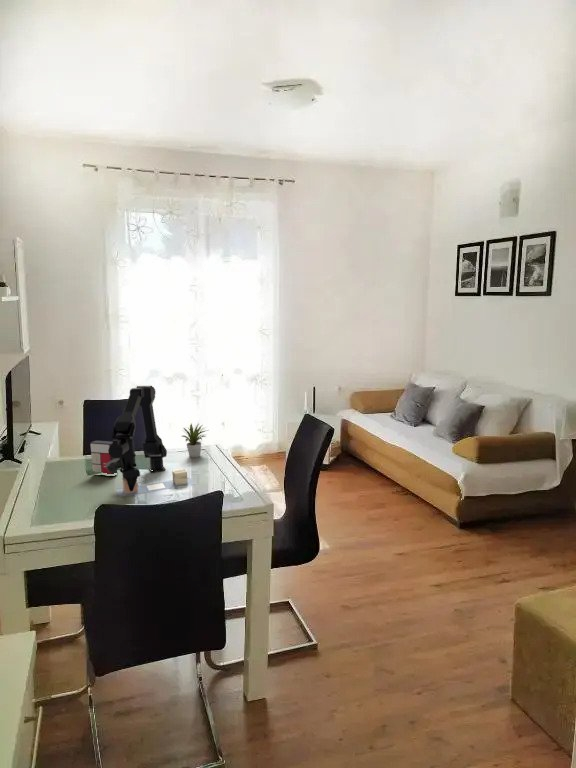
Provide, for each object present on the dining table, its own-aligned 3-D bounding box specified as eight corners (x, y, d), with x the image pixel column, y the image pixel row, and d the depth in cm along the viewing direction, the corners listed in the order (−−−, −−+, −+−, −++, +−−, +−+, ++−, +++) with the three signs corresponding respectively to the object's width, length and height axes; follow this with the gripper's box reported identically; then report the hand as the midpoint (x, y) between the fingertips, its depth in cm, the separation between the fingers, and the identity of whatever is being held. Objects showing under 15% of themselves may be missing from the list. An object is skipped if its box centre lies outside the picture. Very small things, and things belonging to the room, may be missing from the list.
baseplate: (116, 491, 236) (116, 489, 235) (189, 479, 247) (189, 477, 247) (119, 498, 226) (119, 496, 226) (195, 486, 237) (195, 484, 237)
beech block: (173, 482, 241) (172, 470, 241) (185, 480, 243) (184, 468, 243) (175, 485, 237) (174, 473, 236) (187, 483, 239) (186, 471, 238)
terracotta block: (123, 490, 234) (122, 478, 233) (136, 488, 236) (135, 476, 235) (125, 493, 229) (123, 481, 229) (137, 491, 231) (136, 479, 231)
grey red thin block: (92, 475, 258) (88, 442, 255) (98, 472, 262) (95, 440, 259) (112, 477, 254) (109, 444, 251) (118, 474, 258) (115, 441, 255)
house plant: (200, 461, 272) (197, 427, 269) (174, 460, 276) (171, 426, 274) (214, 453, 285) (212, 420, 282) (189, 452, 290) (187, 419, 287)
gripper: (103, 448, 236) (107, 485, 238) (108, 460, 219) (112, 499, 221) (131, 444, 240) (135, 481, 242) (138, 455, 223) (141, 494, 225)
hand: (130, 489), depth 233 cm, fingers closed on terracotta block, 5 cm apart
